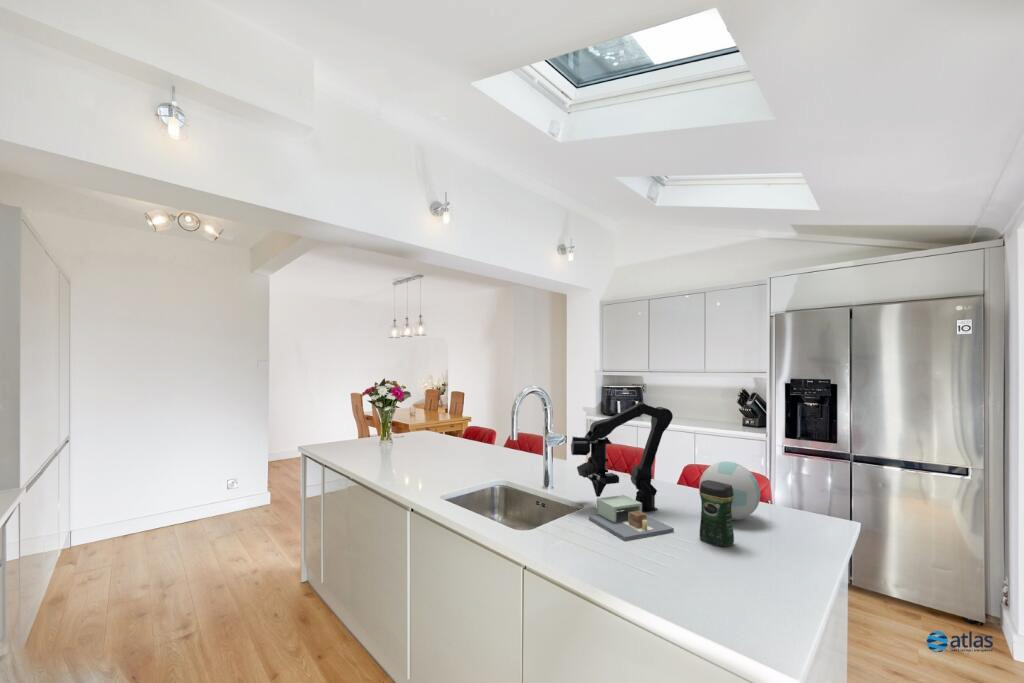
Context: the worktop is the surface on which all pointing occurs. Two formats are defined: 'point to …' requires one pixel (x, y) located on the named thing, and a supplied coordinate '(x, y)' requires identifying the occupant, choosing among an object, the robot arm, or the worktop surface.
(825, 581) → the worktop surface
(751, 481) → the volleyball
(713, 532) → the coffee jar
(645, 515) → the block
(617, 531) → the board
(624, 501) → the housing
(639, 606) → the worktop surface
